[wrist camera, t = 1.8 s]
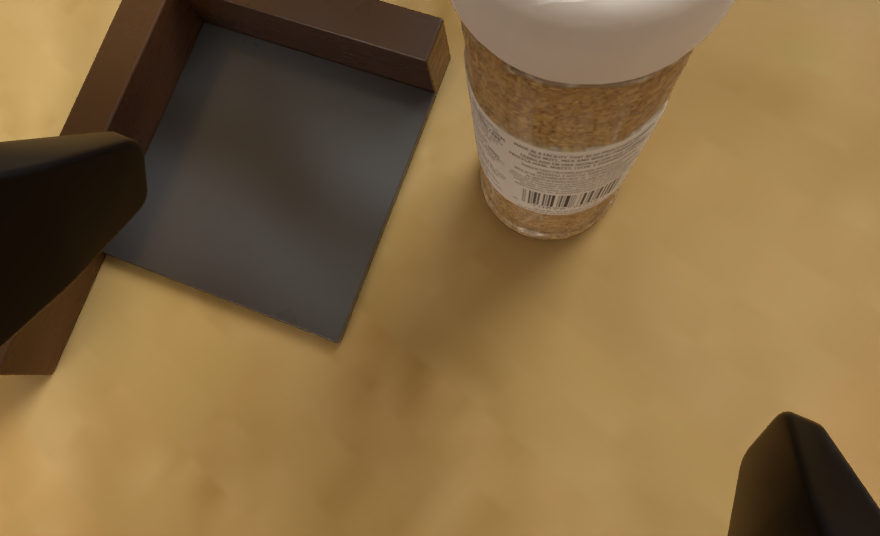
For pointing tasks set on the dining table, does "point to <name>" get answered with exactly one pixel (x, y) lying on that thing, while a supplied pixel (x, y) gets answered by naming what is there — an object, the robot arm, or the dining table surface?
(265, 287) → the corner guide
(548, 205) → the sprinkles bottle
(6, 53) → the dining table surface
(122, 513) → the dining table surface
